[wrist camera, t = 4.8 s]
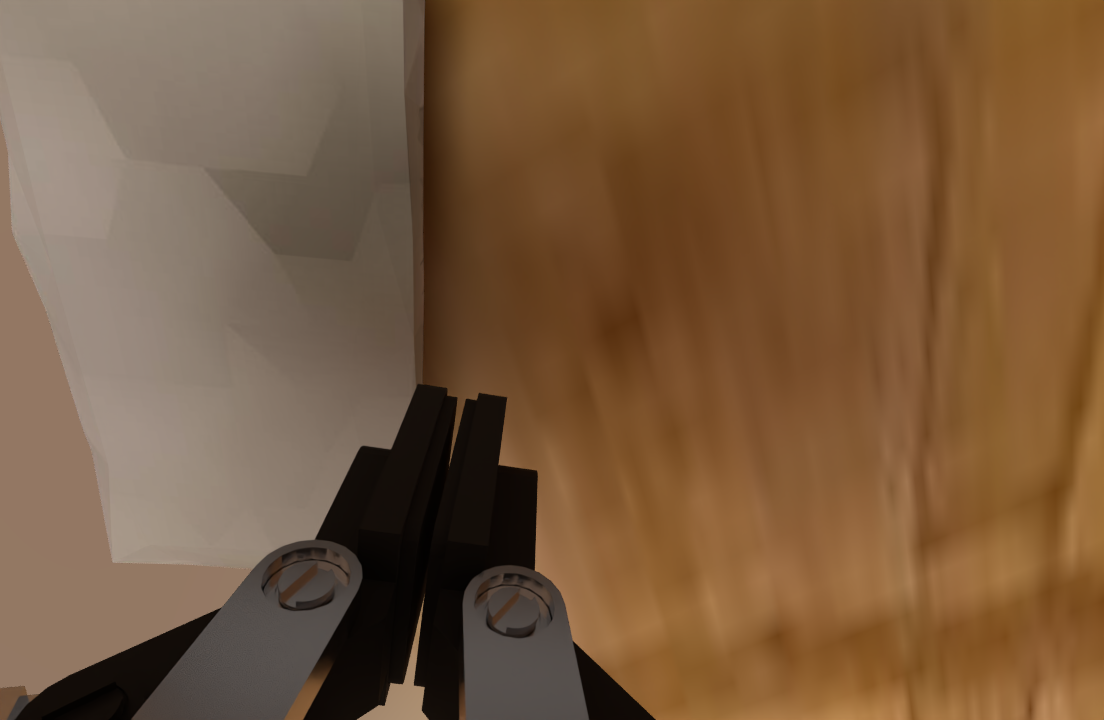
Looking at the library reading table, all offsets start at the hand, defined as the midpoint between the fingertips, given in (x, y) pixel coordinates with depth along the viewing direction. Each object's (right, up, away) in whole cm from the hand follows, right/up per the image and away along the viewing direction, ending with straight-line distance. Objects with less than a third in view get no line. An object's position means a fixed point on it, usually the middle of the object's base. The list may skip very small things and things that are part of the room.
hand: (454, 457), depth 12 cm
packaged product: (-1, +3, +7) cm, 8 cm away
